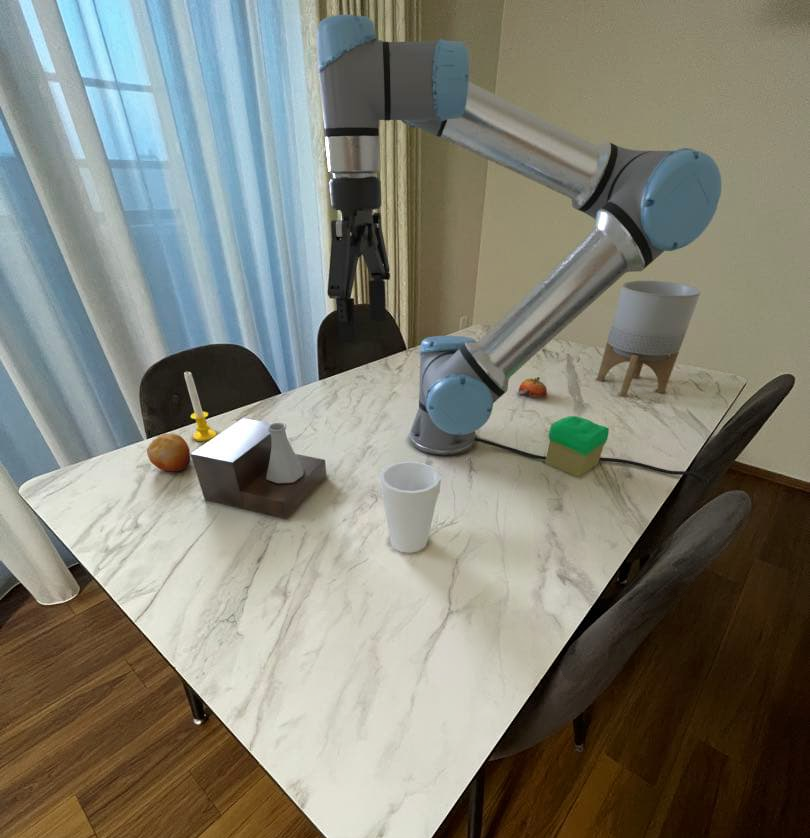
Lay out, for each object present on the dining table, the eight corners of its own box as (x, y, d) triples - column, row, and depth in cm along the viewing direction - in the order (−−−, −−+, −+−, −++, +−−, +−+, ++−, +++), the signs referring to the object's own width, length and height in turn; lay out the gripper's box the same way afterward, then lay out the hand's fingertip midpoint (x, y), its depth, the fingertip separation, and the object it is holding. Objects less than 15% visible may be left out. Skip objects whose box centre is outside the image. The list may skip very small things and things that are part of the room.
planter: (669, 382, 141) (705, 285, 124) (657, 403, 128) (696, 299, 112) (605, 370, 148) (631, 277, 132) (588, 389, 136) (614, 289, 119)
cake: (559, 446, 108) (569, 405, 102) (602, 463, 102) (616, 420, 96) (536, 461, 103) (545, 418, 97) (580, 479, 97) (592, 435, 91)
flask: (296, 486, 87) (288, 437, 80) (259, 482, 88) (249, 433, 82) (310, 467, 92) (303, 419, 86) (275, 463, 93) (266, 416, 87)
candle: (221, 436, 111) (204, 370, 101) (200, 443, 108) (180, 376, 98) (210, 429, 114) (192, 364, 104) (189, 436, 111) (169, 370, 101)
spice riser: (326, 476, 97) (321, 432, 91) (286, 519, 86) (277, 472, 79) (252, 461, 102) (242, 418, 96) (204, 500, 90) (190, 453, 84)
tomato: (552, 397, 127) (537, 375, 125) (529, 412, 130) (515, 391, 128) (548, 390, 134) (534, 369, 132) (527, 405, 137) (513, 385, 135)
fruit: (206, 451, 102) (184, 430, 95) (190, 483, 100) (167, 464, 92) (175, 445, 104) (152, 424, 97) (159, 476, 102) (134, 457, 94)
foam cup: (380, 525, 84) (379, 462, 76) (431, 523, 85) (435, 460, 77) (383, 560, 77) (381, 494, 69) (439, 557, 78) (444, 492, 70)
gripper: (363, 173, 78) (371, 311, 91) (288, 179, 60) (311, 350, 73) (406, 173, 76) (407, 314, 90) (342, 179, 58) (356, 355, 71)
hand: (364, 331), depth 81 cm, fingers open, 13 cm apart
